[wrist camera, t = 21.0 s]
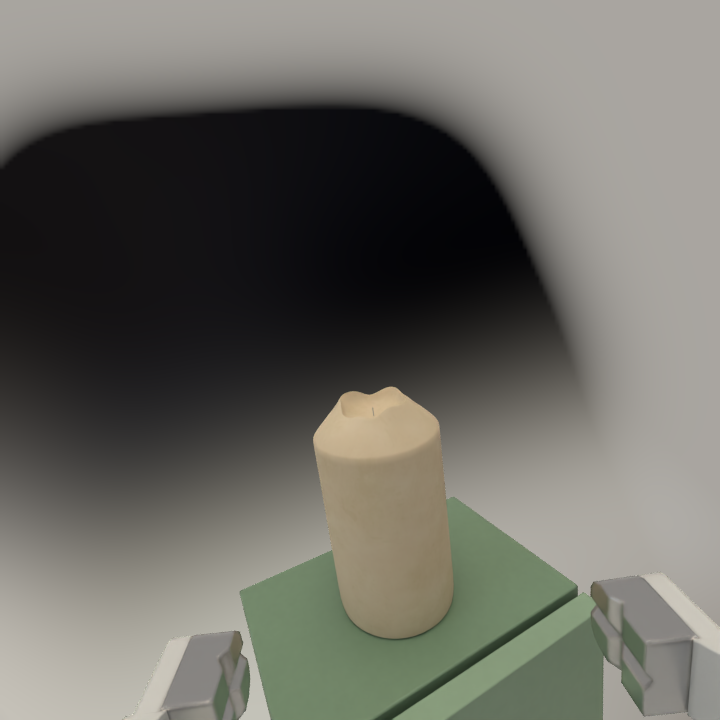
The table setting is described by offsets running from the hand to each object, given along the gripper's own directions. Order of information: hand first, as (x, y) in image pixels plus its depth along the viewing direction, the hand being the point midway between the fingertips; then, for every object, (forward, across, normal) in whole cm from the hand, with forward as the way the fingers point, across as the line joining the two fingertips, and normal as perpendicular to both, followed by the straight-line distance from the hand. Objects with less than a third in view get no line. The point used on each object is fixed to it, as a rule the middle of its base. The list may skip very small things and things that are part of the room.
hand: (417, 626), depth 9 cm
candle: (+9, 0, +8) cm, 12 cm away
